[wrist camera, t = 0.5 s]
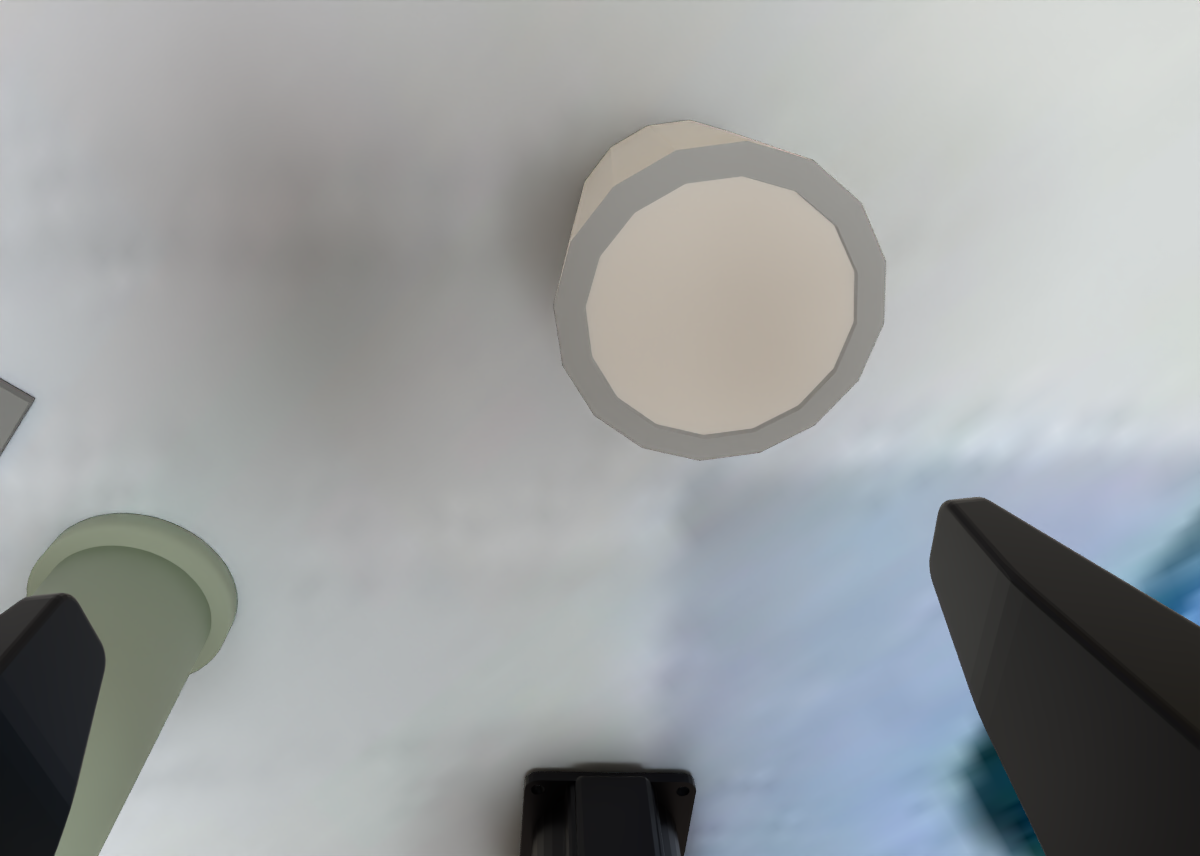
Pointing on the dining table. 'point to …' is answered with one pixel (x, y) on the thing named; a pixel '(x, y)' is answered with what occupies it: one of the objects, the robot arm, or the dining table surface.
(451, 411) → the dining table surface
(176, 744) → the dining table surface
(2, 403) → the slate pad
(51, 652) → the robot arm
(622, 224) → the off-white cylinder
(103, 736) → the sage green knob
